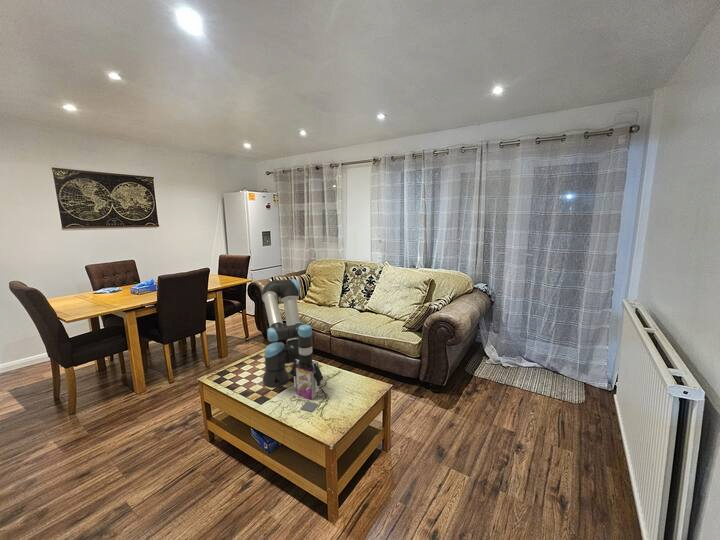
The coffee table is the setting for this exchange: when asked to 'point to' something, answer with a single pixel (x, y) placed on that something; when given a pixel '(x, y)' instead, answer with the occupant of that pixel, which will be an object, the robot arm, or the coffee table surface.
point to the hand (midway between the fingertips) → (306, 388)
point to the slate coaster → (309, 406)
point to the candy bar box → (305, 383)
